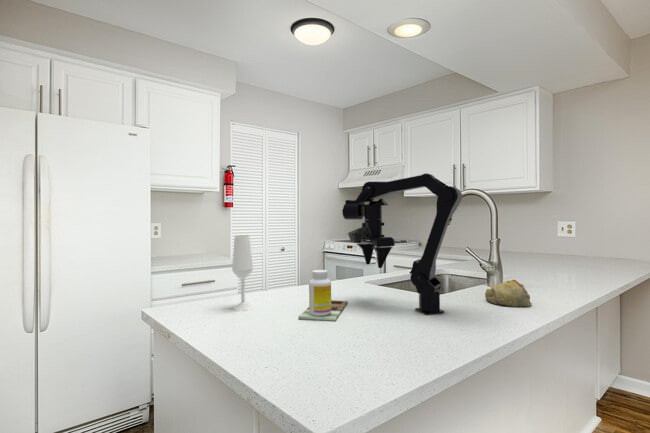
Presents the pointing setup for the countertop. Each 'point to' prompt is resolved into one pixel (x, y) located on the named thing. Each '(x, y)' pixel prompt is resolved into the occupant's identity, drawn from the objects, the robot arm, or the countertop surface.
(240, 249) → the champagne flute
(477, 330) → the countertop surface
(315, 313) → the supplement bottle
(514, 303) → the pastry
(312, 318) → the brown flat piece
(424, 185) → the robot arm
